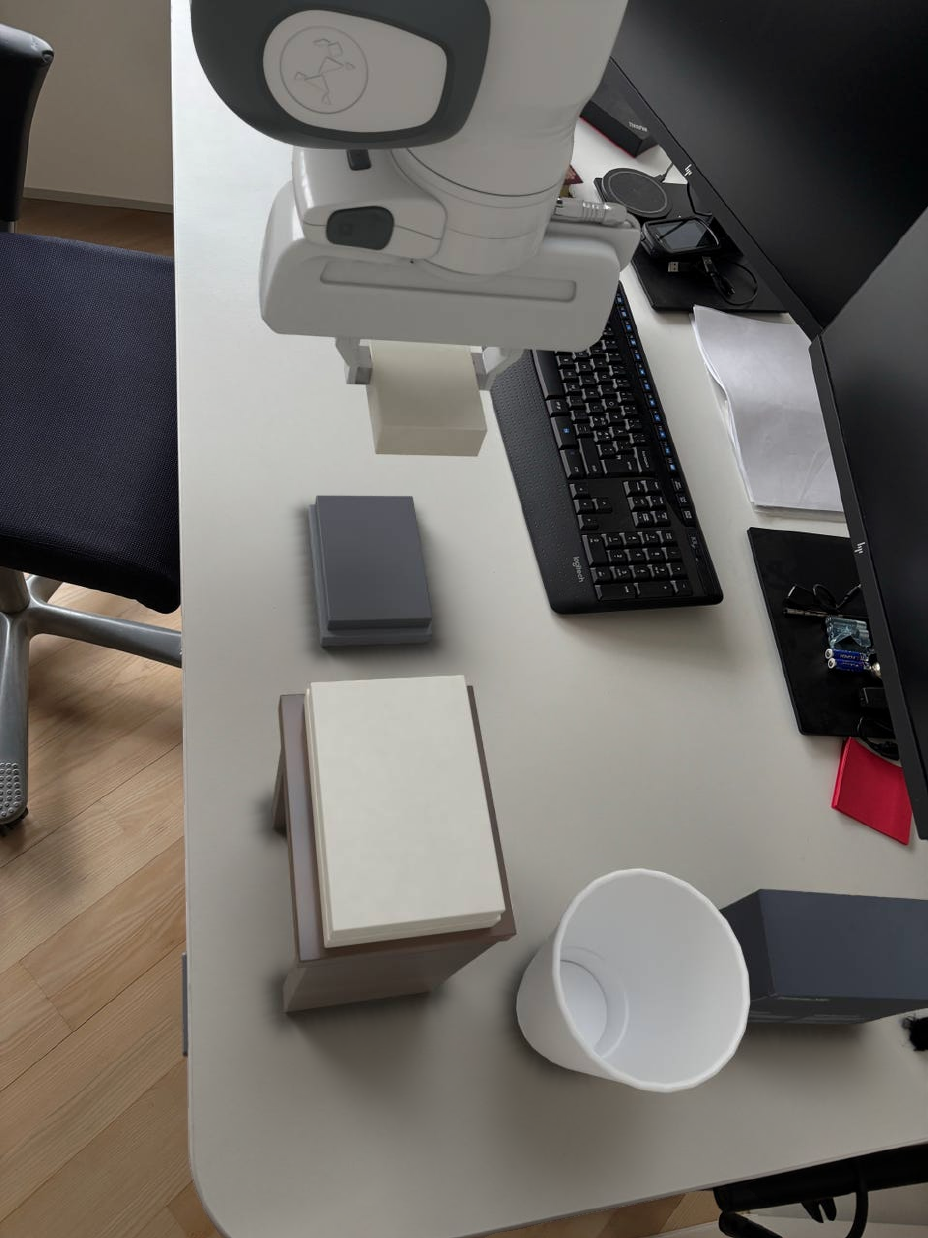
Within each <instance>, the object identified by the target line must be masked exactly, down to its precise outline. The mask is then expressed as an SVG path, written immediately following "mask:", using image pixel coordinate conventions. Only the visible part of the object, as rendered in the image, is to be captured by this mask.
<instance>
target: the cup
mask: <svg viewBox="0 0 928 1238" xmlns="http://www.w3.org/2000/svg"><path fill="white" fill-rule="evenodd" d="M718 910H719V909H718V908H717V907H716V906H715V904H714V903H713V902H712V901H711V900H710V899H709V898H708V897H707V896H706V895H704V894H703V893H701V892H700V891H699V890H698V889H697V888H695V887H694V886H693V885H691V884H690V883H689V882H687V881H684V880H683V879H681V878H678V877H676V876H674V875H671V874H670V873H667V872H665V871H659V870H654V869H648V868H641V867H638V868H630V869H621V870H620V869H619V870H613V871H611V872H608V873H607V874H604V875H603V876H599V877H597V878H596V879H593V880H592V881H590V883H588V884H587V885H586V886H585V887H584V888H583V889H581V890H580V891H579V892H578V893H577V894H576V895H574V897H573V898H572V900H571V901H570V902H569V905H568V906H567V907H566V909H565V910H564V913H562V915H561V917H560V919H559V921H558V922H557V924H556V925H555V927H554V928H553V930H552V931H551V932H550V934H549V935H548V937H547V938H546V939H545V941H544V943H543V944H542V945H541V947H540V948H539V950H537V952H536V954H535V955H534V957H533V958H532V960H531V961H530V962H529V964H528V966H527V967H526V969H525V970H524V972H523V975H522V978H521V982H520V985H519V989H518V991H517V995H516V1005H515V1006H516V1007H515V1011H516V1015H517V1022H518V1025H519V1027H520V1030H521V1032H522V1034H523V1037H524V1038H525V1039H526V1041H527V1043H528V1044H529V1045H530V1046H531V1048H532V1049H534V1050H535V1051H536V1052H537V1053H538V1054H539V1055H541V1056H542V1057H544V1058H546V1059H547V1060H548V1061H550V1062H551V1063H552V1064H553V1063H554V1064H555V1065H557V1066H560V1067H562V1068H565V1069H567V1070H572V1071H575V1072H580V1073H583V1074H586V1075H591V1076H595V1077H598V1078H602V1079H606V1080H609V1081H614V1082H618V1083H622V1084H626V1085H628V1086H631V1087H632V1088H635V1089H637V1090H641V1091H648V1092H656V1093H663V1094H669V1093H673V1092H679V1091H685V1090H689V1089H694V1088H695V1087H697V1086H699V1085H701V1084H702V1083H704V1082H706V1081H708V1080H709V1079H711V1078H713V1077H714V1076H715V1077H716V1075H717V1074H719V1072H720V1071H721V1070H722V1069H723V1068H724V1066H725V1065H727V1064H728V1062H729V1061H730V1060H731V1059H732V1057H733V1056H734V1055H735V1053H736V1051H737V1050H738V1047H739V1044H740V1043H741V1041H742V1038H743V1037H744V1034H745V1032H746V1028H747V1023H748V1022H747V1018H748V1012H749V1007H750V991H749V975H748V971H747V967H746V964H745V960H744V957H743V953H742V950H741V946H740V944H739V942H738V941H737V939H736V937H735V935H734V933H733V931H732V929H731V927H730V925H729V924H728V922H727V920H726V919H725V918H724V917H723V915H722V914H721V913H720V912H719V911H718Z"/></svg>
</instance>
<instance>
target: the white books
mask: <svg viewBox="0 0 928 1238" xmlns="http://www.w3.org/2000/svg"><path fill="white" fill-rule="evenodd" d="M467 686H468V685H467V681H466V676H465V674H458V675H457V674H456V675H439V676H436V675H435V676H416V677H397V678H395V677H394V678H375V679H374V678H373V679H353V680H332V681H331V680H330V681H313V682H311V683H310V686H309V688H306V689H305V694H306V695H305V700H304V709H305V721H306V733H307V745H308V756H309V768H310V780H311V792H312V804H313V816H314V828H315V840H316V852H317V863H318V875H319V887H320V899H321V911H322V923H323V935H324V946H325V948H330V947H338V946H346V945H354V944H362V943H370V942H377V941H385V940H393V939H401V938H409V937H417V936H425V935H432V934H440V933H448V932H456V931H464V930H472V929H480V928H488V927H492V926H493V925H495V924H496V923H497V922H498V921H500V920H501V916H500V914H501V913H503V912H504V911H505V904H504V898H503V892H502V886H501V881H500V875H499V869H498V864H497V858H496V852H495V846H494V841H493V835H492V829H491V823H490V818H489V812H488V806H487V800H486V795H485V789H484V783H483V778H482V772H481V766H480V760H479V755H478V749H477V743H476V737H475V732H474V726H473V720H472V715H471V709H470V703H469V697H468V692H467Z"/></svg>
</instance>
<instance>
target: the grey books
mask: <svg viewBox="0 0 928 1238" xmlns="http://www.w3.org/2000/svg"><path fill="white" fill-rule="evenodd" d="M307 518H308V528H309V529H308V530H309V539H310V549H311V557H312V558H311V559H312V570H313V571H312V572H313V581H314V590H315V602H316V612H317V620H318V621H317V622H318V632H319V642H320V647H343V646H367V645H368V646H372V645H397V644H399V645H400V644H424V643H429V642H430V639H431V638H432V635H433V630H432V624H431V622H432V620H433V612H432V607H431V601H430V600H431V599H430V596H429V595H430V594H429V588H428V583H427V576H426V571H425V570H426V569H425V564H424V558H423V551H422V546H421V540H420V532H419V527H418V520H417V515H416V508H415V501H414V496H412V495H410V496H409V495H316V496H315V501H314V504H311V503H309V506H308V514H307Z"/></svg>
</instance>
